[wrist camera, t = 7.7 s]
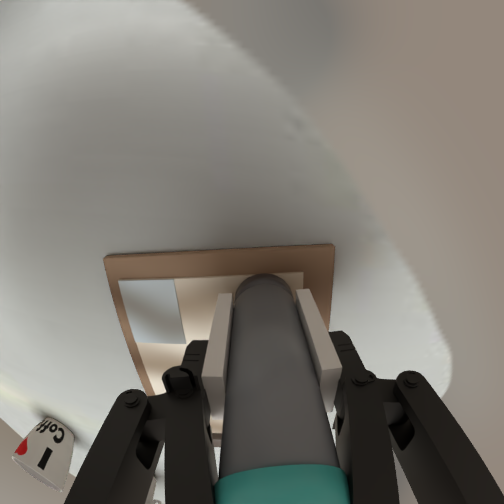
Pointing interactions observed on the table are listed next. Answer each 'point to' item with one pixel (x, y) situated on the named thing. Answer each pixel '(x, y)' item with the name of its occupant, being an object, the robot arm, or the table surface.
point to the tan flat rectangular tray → (200, 297)
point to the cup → (47, 453)
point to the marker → (274, 407)
